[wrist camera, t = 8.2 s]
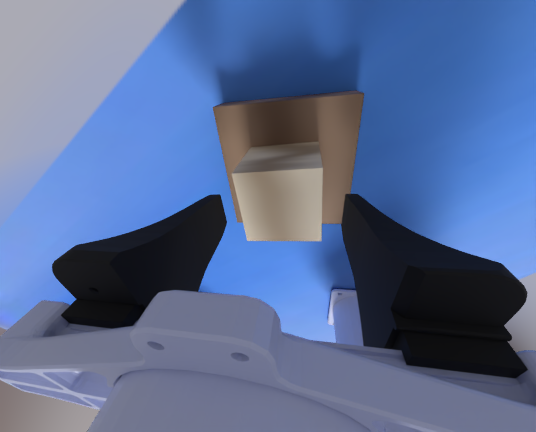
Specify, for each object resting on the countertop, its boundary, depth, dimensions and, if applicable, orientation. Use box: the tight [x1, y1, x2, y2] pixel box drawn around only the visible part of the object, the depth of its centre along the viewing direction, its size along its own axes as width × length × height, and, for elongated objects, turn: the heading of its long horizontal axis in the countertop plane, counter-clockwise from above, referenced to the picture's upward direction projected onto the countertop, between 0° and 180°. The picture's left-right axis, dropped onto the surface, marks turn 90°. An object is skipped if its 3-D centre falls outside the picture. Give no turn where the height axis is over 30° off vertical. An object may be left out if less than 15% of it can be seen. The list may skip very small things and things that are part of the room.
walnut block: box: [213, 90, 364, 224], centre depth 18 cm, size 10×10×3 cm
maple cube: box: [232, 142, 323, 241], centre depth 15 cm, size 5×5×5 cm
